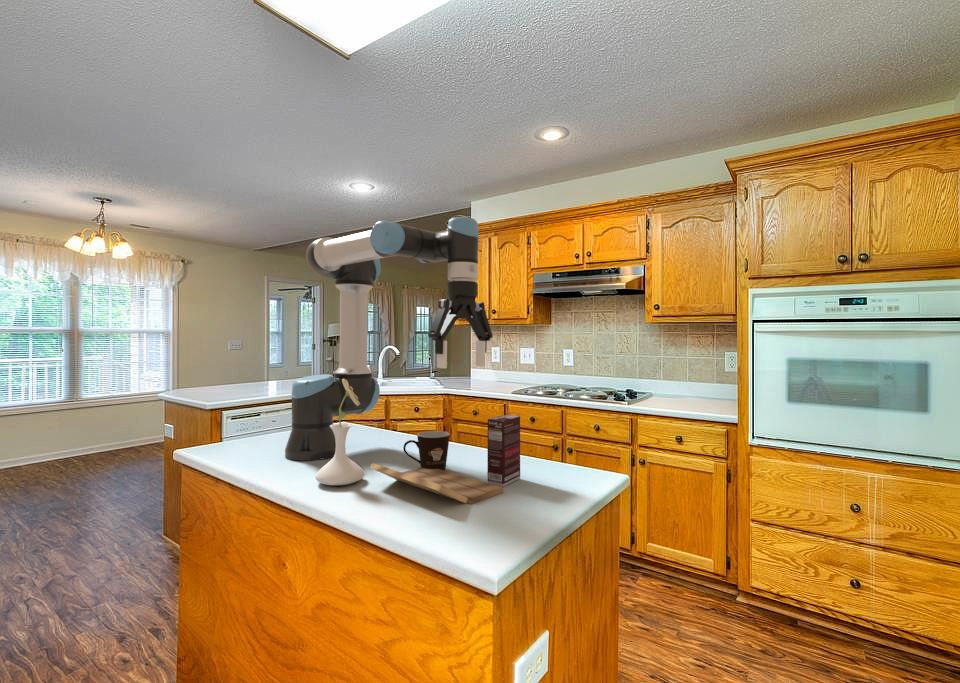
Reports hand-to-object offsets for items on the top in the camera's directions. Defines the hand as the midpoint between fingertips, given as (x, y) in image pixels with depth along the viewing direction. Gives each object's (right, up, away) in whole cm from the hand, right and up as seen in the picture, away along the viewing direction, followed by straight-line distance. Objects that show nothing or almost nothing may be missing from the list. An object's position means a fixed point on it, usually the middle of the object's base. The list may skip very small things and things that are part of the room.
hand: (461, 367), depth 117 cm
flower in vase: (-29, -28, -2) cm, 41 cm away
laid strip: (-3, -28, -4) cm, 29 cm away
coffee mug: (-9, -29, +9) cm, 31 cm away
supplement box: (+10, -28, -1) cm, 30 cm away
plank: (-10, -26, -12) cm, 30 cm away
